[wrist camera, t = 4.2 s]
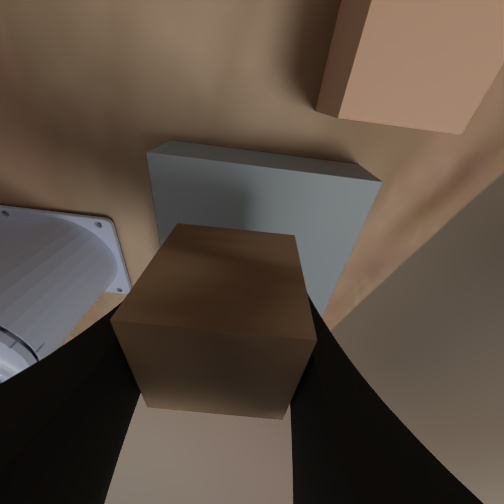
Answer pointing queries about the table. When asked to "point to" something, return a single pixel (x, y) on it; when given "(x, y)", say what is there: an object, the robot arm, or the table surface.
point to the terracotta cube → (412, 61)
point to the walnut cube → (219, 323)
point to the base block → (267, 201)
